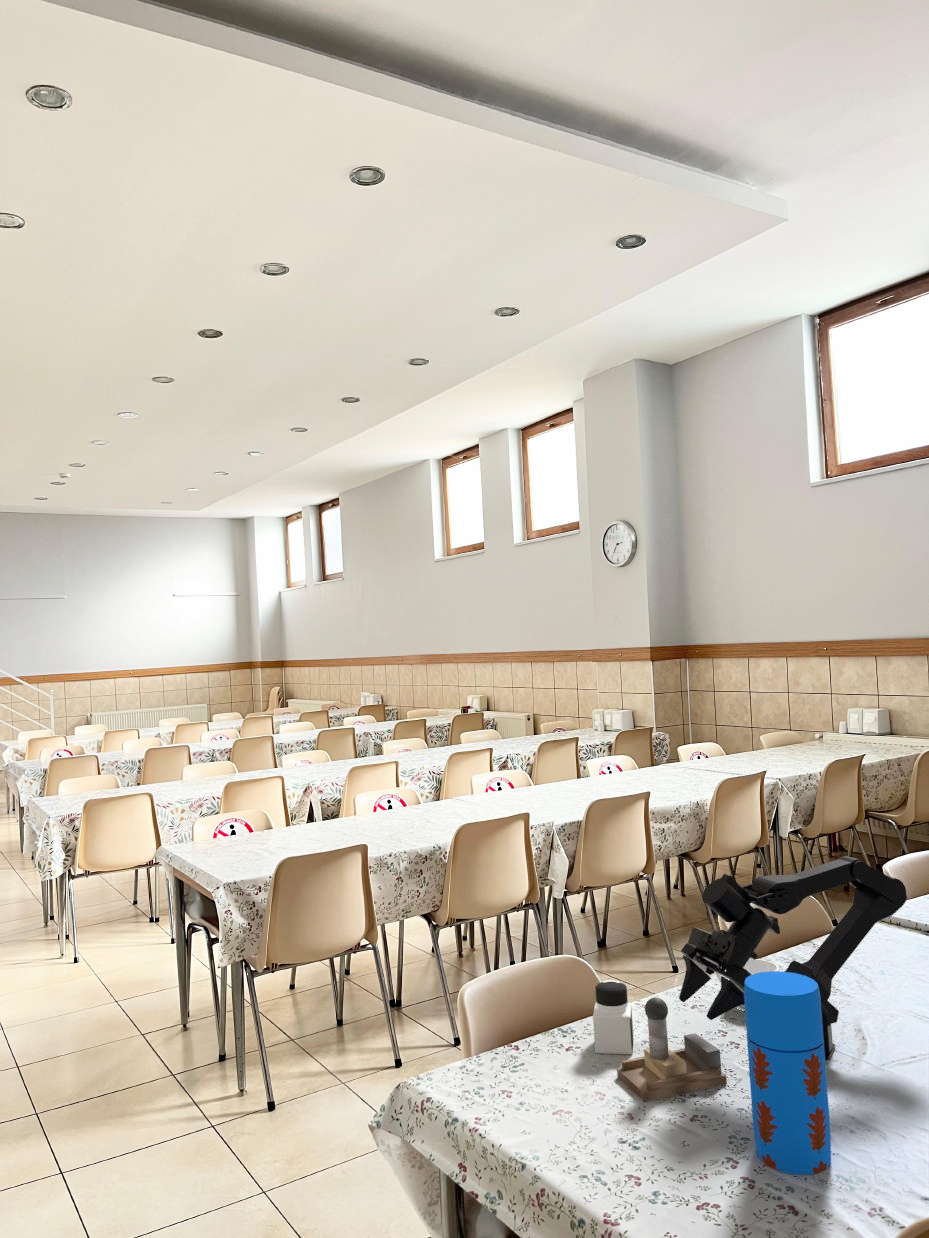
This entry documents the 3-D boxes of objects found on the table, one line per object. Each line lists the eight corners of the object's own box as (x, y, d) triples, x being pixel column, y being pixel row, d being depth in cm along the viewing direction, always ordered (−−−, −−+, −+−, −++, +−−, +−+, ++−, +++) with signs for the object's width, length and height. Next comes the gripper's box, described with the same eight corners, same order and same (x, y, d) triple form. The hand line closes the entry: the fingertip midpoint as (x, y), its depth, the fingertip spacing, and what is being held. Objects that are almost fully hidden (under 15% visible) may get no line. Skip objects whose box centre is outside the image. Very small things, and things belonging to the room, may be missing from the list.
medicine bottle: (633, 1055, 171) (628, 990, 171) (595, 1053, 172) (591, 989, 173) (633, 1039, 178) (629, 977, 178) (597, 1038, 179) (593, 976, 180)
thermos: (795, 1183, 126) (782, 1001, 128) (739, 1149, 136) (727, 980, 137) (849, 1160, 131) (835, 985, 133) (791, 1129, 141) (779, 966, 142)
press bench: (695, 1061, 166) (693, 1030, 167) (726, 1084, 157) (724, 1051, 157) (617, 1077, 162) (615, 1045, 162) (644, 1101, 152) (642, 1068, 153)
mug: (787, 1000, 193) (784, 962, 194) (775, 1017, 184) (772, 977, 185) (724, 991, 201) (722, 954, 201) (710, 1007, 192) (707, 969, 192)
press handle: (664, 1061, 163) (660, 988, 164) (686, 1079, 156) (681, 1002, 157) (640, 1066, 162) (635, 992, 163) (661, 1084, 155) (656, 1007, 155)
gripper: (686, 898, 173) (638, 966, 169) (743, 923, 155) (691, 999, 151) (725, 934, 175) (678, 1002, 171) (786, 962, 157) (736, 1038, 153)
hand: (694, 1009), depth 162 cm, fingers open, 9 cm apart
